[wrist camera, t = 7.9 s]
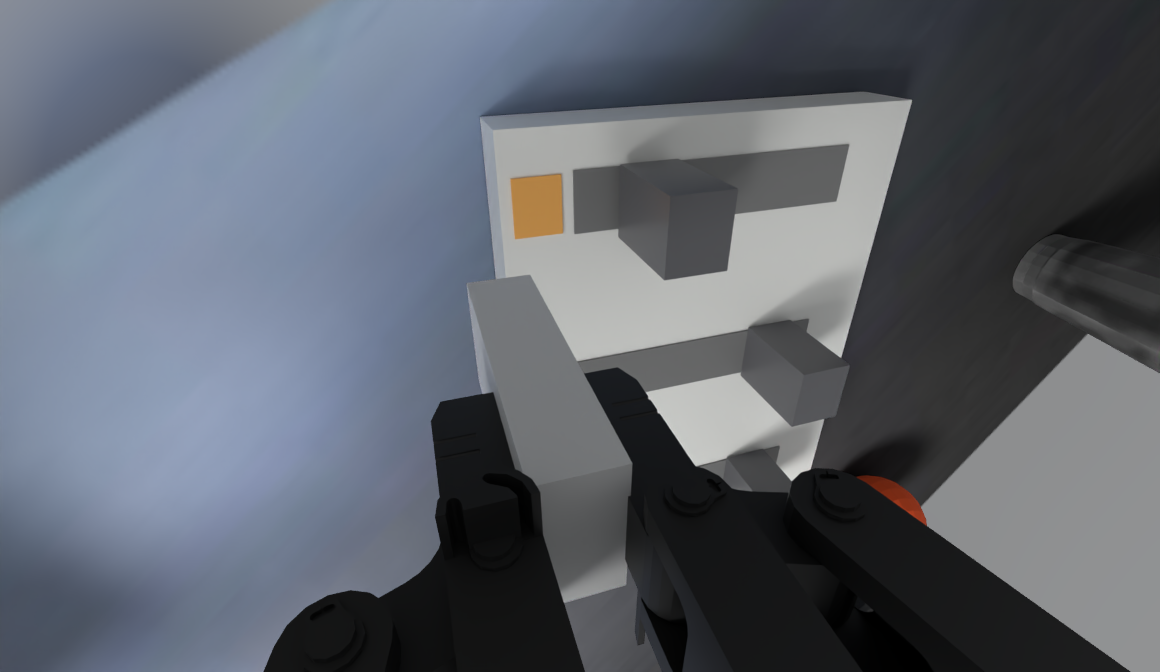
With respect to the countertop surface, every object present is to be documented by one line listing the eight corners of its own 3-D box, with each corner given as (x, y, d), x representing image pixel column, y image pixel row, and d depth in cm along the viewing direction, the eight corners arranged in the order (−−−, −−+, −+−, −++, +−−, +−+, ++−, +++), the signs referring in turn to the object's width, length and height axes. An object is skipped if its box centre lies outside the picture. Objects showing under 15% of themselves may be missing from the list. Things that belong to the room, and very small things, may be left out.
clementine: (791, 537, 46) (851, 614, 40) (793, 481, 42) (861, 557, 36) (873, 502, 47) (944, 572, 41) (883, 444, 43) (962, 512, 37)
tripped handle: (618, 237, 23) (664, 280, 19) (619, 163, 22) (670, 196, 18) (672, 229, 24) (727, 270, 20) (677, 158, 22) (738, 189, 19)
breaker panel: (519, 521, 35) (551, 633, 29) (479, 116, 22) (520, 158, 16) (779, 454, 40) (855, 537, 33) (864, 91, 27) (1008, 116, 21)
